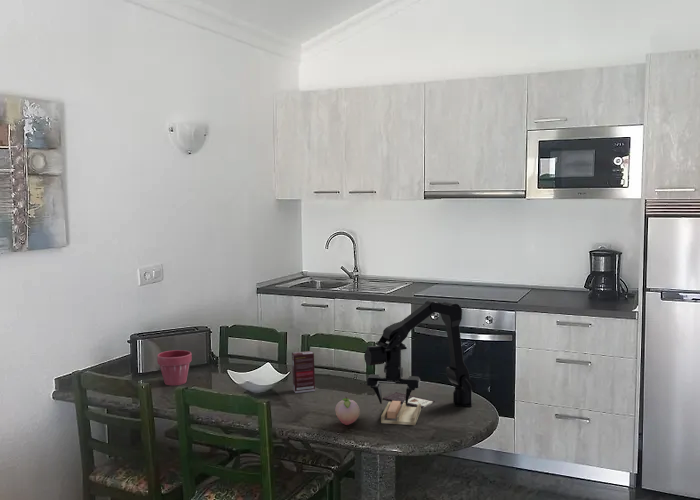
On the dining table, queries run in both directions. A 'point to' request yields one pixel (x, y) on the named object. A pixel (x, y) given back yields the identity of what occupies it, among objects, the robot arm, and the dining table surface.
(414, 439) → the dining table surface
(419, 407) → the cream desk organizer
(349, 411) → the decorative fruit
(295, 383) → the supplement box
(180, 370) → the plant pot
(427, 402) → the chocolate bar
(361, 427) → the dining table surface
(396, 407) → the clay strip
